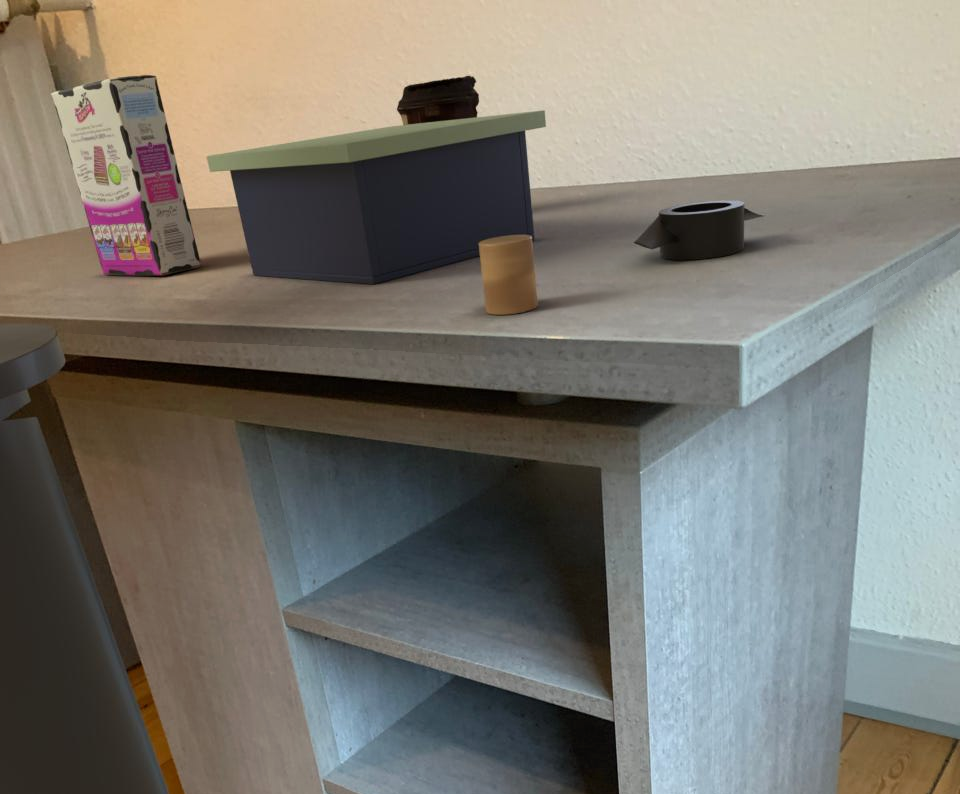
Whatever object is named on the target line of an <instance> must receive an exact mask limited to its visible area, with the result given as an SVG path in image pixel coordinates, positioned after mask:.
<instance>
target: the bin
mask: <svg viewBox="0 0 960 794" xmlns="http://www.w3.org/2000/svg"><path fill="white" fill-rule="evenodd" d="M527 146H528V145H527V136H526V131H520V132H515V133H509V134H504V135H498V136H493V137H487V138H482V139H476V140H471V141H465V142H460V143H454V144H449V145H443V146H438V147H432V148H427V149H421V150H416V151H410V152H405V153H399V154H393V155H388V156H382V157H377V158H371V159H366V160H360V161H355V162H348V163H333V164H319V165H304V166H289V167H274V168H260V169H245V170H230V171H229V173H230V177H231V182H232V186H233V191H234V195H235V199H236V203H237V204H236V205H237V208H238V213H239V218H240V222H241V226H242V232H243V236H244V240H245V244H246V249H247V254H248V258H249V263H250V267H251V270H252V276H257V277H269V278H271V277H272V278H282V279H283V278H285V279H287V278H288V279H299V280H311V281H312V280H313V281H324V282H325V281H326V282H339V283H353V284H367V285H376V284H377V285H378V284H380V283H385V282H388V281H391V280H396V279H399V278H402V277H405V276H410V275H414V274H416V273H421V272H424V271H428V270H431V269H435V268H439V267H443V266H446V265H450V264H454V263H457V262H461V261H465V260H468V259H472V258H476V257H480V253H479V242H481V241H483V240H486V239H490V238H495V237H501V236H509V235H530V236H532V242H535V239H536V237H535V228H534V227H535V226H534V215H533V204H532V194H531V193H532V192H531V183H530V182H531V181H530V171H529V159H528V147H527Z"/></svg>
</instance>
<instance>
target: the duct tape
mask: <svg viewBox="0 0 960 794" xmlns="http://www.w3.org/2000/svg"><path fill="white" fill-rule="evenodd" d="M766 216H767V215H766V214H760V213H757V212H754V211H752V210H750V209H748V208H747V207H745V202H744V201H741V200H710V201H700V202H691V203H684V204H679V205H673V206H670V207H666V208H662V209H660V210H659V211H658V216H657V217H656V218H655V219H654V220H653V222H651V224H649V226H648V227H647V228H646V229H645V230H644V231H643V233H642V234H641V235H639V236H638V237H637V238H636V240H634V241H633V243H634V244H635V245H639V246H640V247H642V248H645V249H649V250H652V251H654V250H655V249H658V248H659V257H660V258H662V259H664V260H672V261H692V260H693V261H695V260H705V259H713V258H720V257H726V256H730V255H734V254H737V253H740V252H741V251H743V250H744V249H745V222H746V221H750V220H754V219H758V218H764V217H766Z"/></svg>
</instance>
